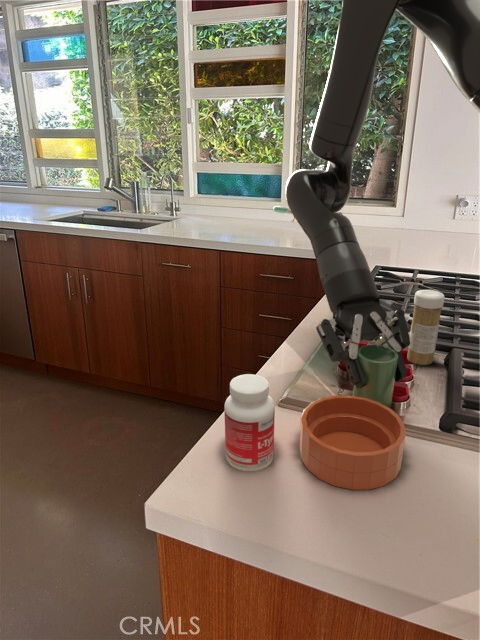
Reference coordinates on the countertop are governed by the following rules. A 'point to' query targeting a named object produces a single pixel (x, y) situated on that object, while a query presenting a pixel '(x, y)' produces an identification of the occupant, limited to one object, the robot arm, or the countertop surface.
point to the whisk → (285, 210)
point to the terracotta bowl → (352, 442)
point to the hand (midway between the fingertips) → (381, 382)
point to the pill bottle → (249, 423)
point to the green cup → (377, 373)
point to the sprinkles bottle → (425, 326)
